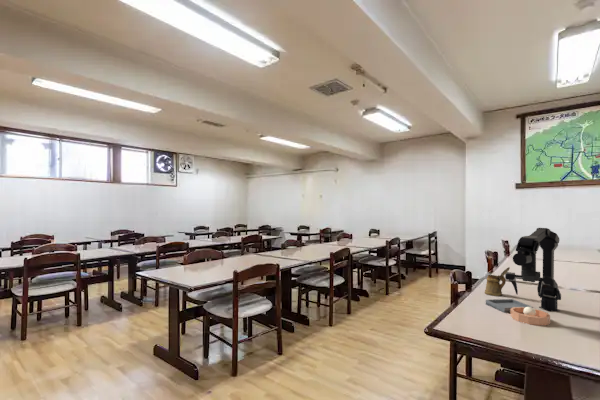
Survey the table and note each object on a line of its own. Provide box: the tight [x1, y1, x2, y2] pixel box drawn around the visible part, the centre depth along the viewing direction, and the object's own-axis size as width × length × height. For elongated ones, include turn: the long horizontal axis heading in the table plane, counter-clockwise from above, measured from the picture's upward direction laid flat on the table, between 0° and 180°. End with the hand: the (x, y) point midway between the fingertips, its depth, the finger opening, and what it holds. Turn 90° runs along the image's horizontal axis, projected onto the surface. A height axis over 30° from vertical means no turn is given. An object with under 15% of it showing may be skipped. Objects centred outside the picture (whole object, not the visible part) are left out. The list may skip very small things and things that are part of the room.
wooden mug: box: [484, 266, 510, 297], centre depth 196 cm, size 9×14×18 cm, turn 38°
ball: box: [523, 306, 536, 317], centre depth 154 cm, size 5×5×5 cm
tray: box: [485, 298, 534, 314], centre depth 171 cm, size 16×14×2 cm
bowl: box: [509, 307, 551, 326], centre depth 154 cm, size 15×15×4 cm
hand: (528, 296), depth 154 cm, fingers open, 9 cm apart
